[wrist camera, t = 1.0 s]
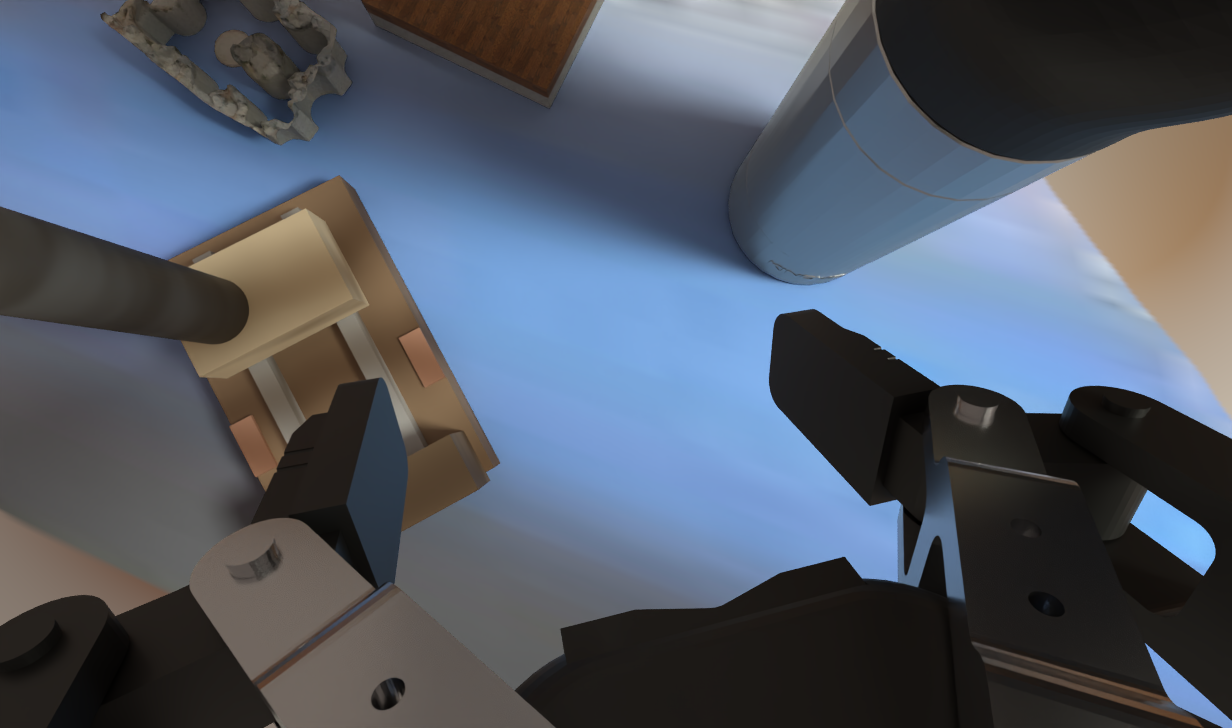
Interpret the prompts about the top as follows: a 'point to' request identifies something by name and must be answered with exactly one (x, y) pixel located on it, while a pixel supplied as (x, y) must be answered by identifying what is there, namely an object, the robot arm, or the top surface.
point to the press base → (357, 366)
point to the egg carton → (243, 58)
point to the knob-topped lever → (183, 288)
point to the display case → (496, 37)
